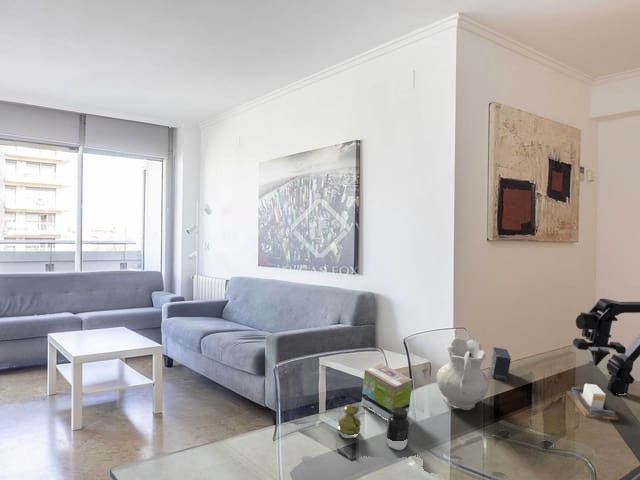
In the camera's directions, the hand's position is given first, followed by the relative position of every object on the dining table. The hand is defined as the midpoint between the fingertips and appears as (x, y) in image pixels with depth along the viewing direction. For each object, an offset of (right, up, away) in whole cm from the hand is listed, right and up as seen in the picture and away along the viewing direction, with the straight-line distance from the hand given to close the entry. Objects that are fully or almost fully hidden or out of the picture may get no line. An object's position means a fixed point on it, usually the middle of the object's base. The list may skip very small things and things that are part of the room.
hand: (595, 365), depth 205 cm
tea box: (-91, -11, -25) cm, 95 cm away
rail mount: (-7, -14, -10) cm, 18 cm away
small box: (-36, -7, +12) cm, 39 cm away
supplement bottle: (-90, -15, -45) cm, 101 cm away
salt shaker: (-105, -13, -40) cm, 113 cm away
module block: (-7, -12, -10) cm, 17 cm away
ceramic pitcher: (-61, -11, -16) cm, 64 cm away
